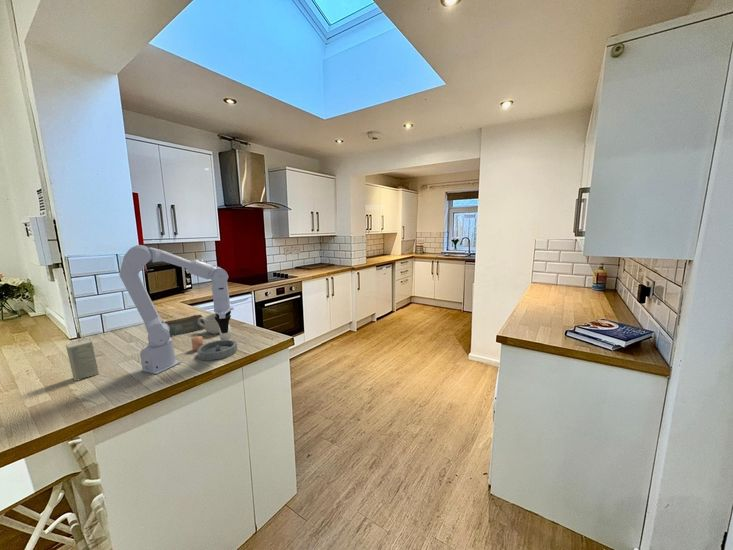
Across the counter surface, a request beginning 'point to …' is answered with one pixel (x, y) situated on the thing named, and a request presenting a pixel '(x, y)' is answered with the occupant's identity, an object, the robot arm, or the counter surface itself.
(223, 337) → the bead cream
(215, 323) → the teacup
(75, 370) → the skincare box
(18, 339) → the counter surface
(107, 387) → the counter surface
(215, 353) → the groove tray
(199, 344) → the bead terracotta
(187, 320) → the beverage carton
